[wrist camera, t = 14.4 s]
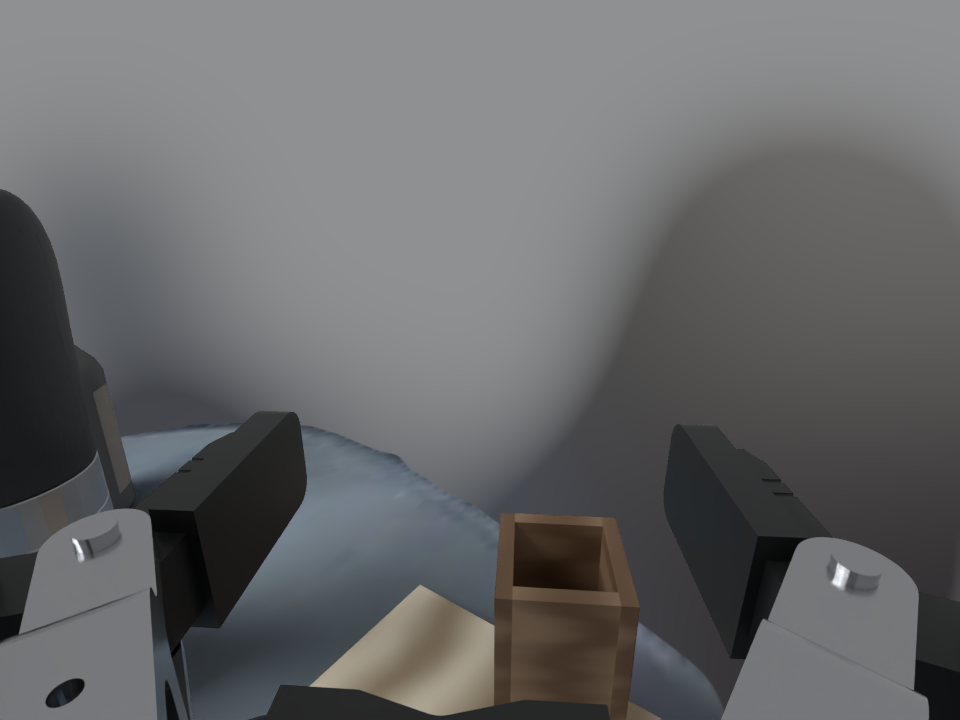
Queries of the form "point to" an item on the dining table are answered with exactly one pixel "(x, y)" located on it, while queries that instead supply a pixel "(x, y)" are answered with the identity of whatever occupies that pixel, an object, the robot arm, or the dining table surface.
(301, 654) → the dining table surface
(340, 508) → the dining table surface
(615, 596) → the sleeve
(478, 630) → the board
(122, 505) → the liquor
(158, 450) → the dining table surface
